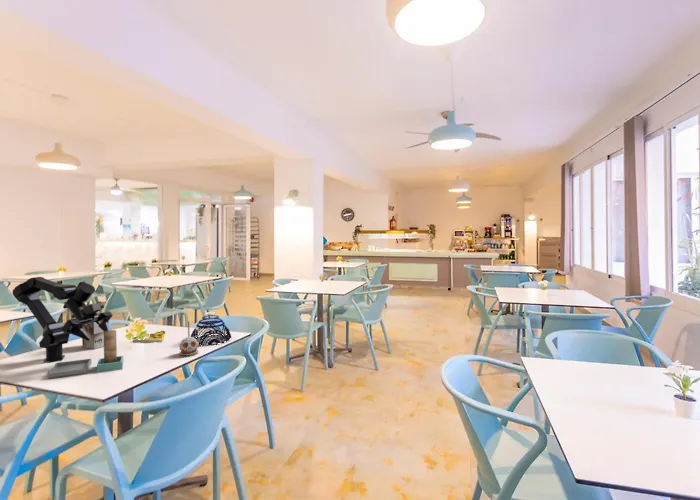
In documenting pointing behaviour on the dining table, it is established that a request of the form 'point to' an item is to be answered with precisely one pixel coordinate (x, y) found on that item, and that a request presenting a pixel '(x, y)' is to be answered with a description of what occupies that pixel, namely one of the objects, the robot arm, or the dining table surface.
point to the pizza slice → (153, 338)
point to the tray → (70, 368)
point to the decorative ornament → (188, 345)
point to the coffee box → (93, 335)
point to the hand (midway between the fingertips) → (99, 337)
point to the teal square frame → (110, 365)
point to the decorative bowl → (211, 330)
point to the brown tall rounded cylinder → (110, 346)
